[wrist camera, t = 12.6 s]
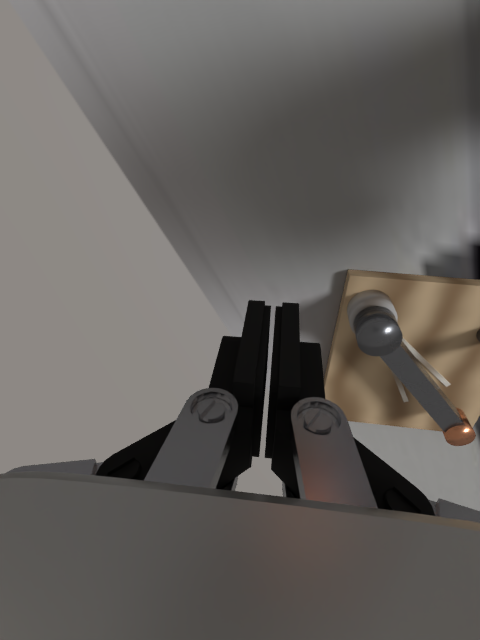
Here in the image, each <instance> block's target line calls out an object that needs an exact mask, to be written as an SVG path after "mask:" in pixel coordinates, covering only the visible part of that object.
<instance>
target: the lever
mask: <svg viewBox="0 0 480 640" xmlns="http://www.w3.org/2000/svg"><path fill="white" fill-rule="evenodd" d="M353 328H354V332H355V336H356V340H357V344H358V347H359V348H360V350H361V351H362V352H364V353H365V354H367V355H370V356H380V357H381V359H382V360H383V361H384V362H385V363H386V364H387V366H388V367H389V368H390V369H391V370H392V372H393V373H394V374H395V375H396V376H397V377H398V379H399V380H400V381H401V382H402V383H403V384H404V386H405V387H406V388H407V389H408V390H409V391H410V393H411V394H412V395H413V396H414V397H415V398H416V400H417V401H418V402H419V403H420V404H421V405H422V407H423V408H424V409H425V410H426V411H427V413H428V414H429V415H430V416H431V417H432V418H433V420H434V421H435V422H436V423H437V424H438V425H439V427H440V428H441V429H442V432H443V434H444V436H445V439H446V441H447V442H448V443H449V444H451V445H454V446H462V445H466V444H469V443H471V442H472V441H473V440H474V439H475V436H476V435H475V432H474V430H473V428H472V426H471V424H470V423H469V421H468V419H467V417H466V415H465V413H464V411H463V410H461V409H459V408H456V407H455V406H454V405H453V404H452V402H451V401H450V400H449V399H448V397H447V396H446V395H445V394H444V392H443V391H442V390H441V389H440V387H439V386H438V385H437V384H436V382H435V381H434V380H433V379H432V377H431V376H430V375H429V374H428V372H427V371H426V370H425V369H424V367H423V366H422V365H421V364H420V362H419V361H418V360H417V359H416V357H415V356H414V355H413V354H412V352H411V351H410V350H409V349H408V347H407V346H406V345H405V344H404V342H403V341H402V339H403V335H402V332H401V330H400V327H399V325H398V323H397V320H396V318H395V316H394V314H393V312H392V311H391V310H389V309H388V308H386V307H382V306H371V307H368V308H365V309H363V310H362V311H360V312H359V313H358V314H357V315H356V317H355V319H354V322H353Z"/></svg>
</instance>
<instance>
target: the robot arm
mask: <svg viewBox="0 0 480 640" xmlns="http://www.w3.org/2000/svg"><path fill="white" fill-rule="evenodd" d="M270 312H271V306H265V301H253V300H249V302H248V307H247V312H246V317H245V322H244V327H243V332H242V337H231V336H223V338H222V341H221V344H220V349H219V352H218V356H217V359H216V363H215V367H214V370H213V374H212V378H211V381H210V385H209V388H206V389H202V390H200V391H197V392H196V393H194V394H193V395H191V396H190V397H189V399H188V400H187V401H186V403H185V405H184V407H183V408H182V410H181V412H180V414H179V416H178V418H177V420H175V421H173V422H172V423H170V424H168V425H166V426H164V427H162V428H161V429H159V430H157V431H155V432H153V433H151V434H150V435H148V436H146V437H144V438H142V439H141V440H139V441H137V442H135V443H133V444H131V445H130V446H128V447H126V448H124V449H122V450H120V451H119V452H117V453H115V454H113V455H112V456H111V457H109V458H108V459H106V460H105V461H104V462H101V463H96V460H95V459H90V460H80V461H70V462H61V463H51V464H40V465H31V466H23V467H18V468H14V469H13V470H10V471H9V472H7V473H4V474H0V640H480V511H477V510H474V509H471V508H468V507H464V506H461V505H458V504H455V503H452V502H449V501H446V500H442V499H438V501H437V502H434V501H431V500H428V499H427V497H426V496H425V495H424V494H423V493H422V492H421V491H420V490H419V489H418V488H417V487H415V486H414V485H413V484H411V483H410V482H409V481H408V480H406V479H405V478H404V477H403V476H401V475H400V474H399V473H398V472H396V471H395V470H394V469H393V468H391V467H390V466H389V465H388V464H386V463H385V462H384V461H383V460H381V459H380V458H379V457H378V456H376V455H375V454H374V453H373V452H371V451H370V450H369V449H368V448H366V447H365V446H364V445H363V444H361V443H360V442H359V441H357V440H356V439H355V438H354V437H353V435H352V432H351V429H350V426H349V424H348V421H347V418H346V416H345V414H344V412H343V410H342V409H341V408H340V407H339V406H338V405H337V404H335V403H333V402H331V401H330V400H327V399H326V398H325V388H324V378H323V368H322V358H321V348H320V344H319V343H308V342H300V333H299V304H298V303H282V307H279V306H276V312H275V326H274V339H273V352H272V365H271V379H270V392H269V407H268V420H267V434H266V448H265V458H272V464H271V470H272V471H273V472H274V473H275V474H276V475H277V476H278V477H279V478H280V479H281V480H282V481H283V484H282V486H283V487H282V490H283V497H280V496H271V495H262V494H254V493H246V492H238V491H235V488H236V485H237V480H238V475H240V474H241V473H243V472H244V471H245V470H247V469H248V468H250V467H251V462H252V456H254V457H259V452H260V441H261V430H262V419H263V407H264V396H265V385H266V374H267V360H268V344H269V328H270Z"/></svg>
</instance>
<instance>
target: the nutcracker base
mask: <svg viewBox="0 0 480 640" xmlns="http://www.w3.org/2000/svg"><path fill="white" fill-rule="evenodd" d="M371 306H382V307H386V308H388V309H389V310H391V311H392V312H393V314H394V316H395V318H396V320H397V323H398V325H399V327H400V330H401V332H402V335H403V339H402V341H403V342H404V344H405V345H406V346H407V347H408V349H409V350H410V351H411V352H412V354H413V355H414V356H415V357H416V359H417V360H418V361H419V362H420V364H421V365H422V366H423V367H424V369H425V370H426V371H427V372H428V374H429V375H430V376H431V377H432V379H433V380H434V381H435V382H436V384H437V385H438V386H439V387H440V389H441V390H442V391H443V392H444V394H445V395H446V396H447V397H448V399H449V400H450V401H451V402H452V404H453V405H454V406H455V407H456V408H459V409H461V410H463V411H464V413H465V415H466V417H467V419H468V421H469V423H470V424H471V426H472V427H473V426H474V424H475V422H476V421H477V419H478V417H479V415H480V280H474V279H461V278H449V277H436V276H424V275H411V274H398V273H386V272H373V271H361V270H348V272H347V277H346V281H345V286H344V290H343V295H342V299H341V304H340V309H339V313H338V318H337V322H336V327H335V331H334V336H333V340H332V345H331V350H330V354H329V359H328V363H327V368H326V372H325V377H324V388H325V398H326V399H327V400H330V401H331V402H333V403H335V404H337V405H338V406H339V407H340V408H341V409H342V410H343V412H344V414H345V416H346V418H347V421H354V422H363V423H372V424H381V425H390V426H399V427H408V428H417V429H426V430H435V431H442V429H441V428H440V427H439V425H438V424H437V423H436V422H435V421H434V420H433V418H432V417H431V416H430V415H429V414H428V413H427V411H426V410H425V409H424V408H423V407H422V405H421V404H420V403H419V402H418V401H417V400H416V398H415V397H414V396H413V395H412V394H411V393H410V391H409V390H408V389H407V388H406V387H405V386H404V384H403V383H402V382H401V381H400V380H399V379H398V377H397V376H396V375H395V374H394V373H393V372H392V370H391V369H390V368H389V367H388V366H387V364H386V363H385V362H384V361H383V360H382V359H381V357H380V356H370V355H367V354H365V353H364V352H362V351H361V350H360V348H359V347H358V344H357V340H356V336H355V332H354V328H353V322H354V319H355V317H356V315H357V314H358V313H359V312H360V311H362V310H363V309H365V308H368V307H371Z"/></svg>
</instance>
